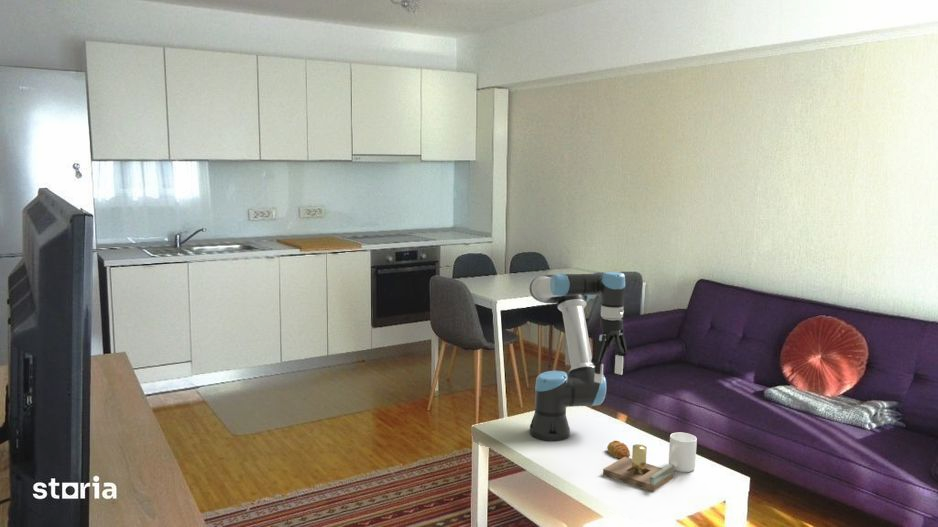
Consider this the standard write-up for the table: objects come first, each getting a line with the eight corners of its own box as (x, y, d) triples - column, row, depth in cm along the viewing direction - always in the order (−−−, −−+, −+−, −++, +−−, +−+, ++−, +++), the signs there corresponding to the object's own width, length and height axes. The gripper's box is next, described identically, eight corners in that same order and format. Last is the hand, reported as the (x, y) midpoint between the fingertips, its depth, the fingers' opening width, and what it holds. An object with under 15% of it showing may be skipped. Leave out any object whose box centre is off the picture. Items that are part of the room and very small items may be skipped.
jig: (602, 474, 233) (603, 461, 233) (624, 462, 244) (625, 449, 243) (653, 491, 222) (654, 478, 221) (673, 477, 232) (674, 464, 231)
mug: (657, 469, 239) (659, 438, 237) (677, 460, 246) (679, 430, 245) (679, 477, 232) (681, 446, 231) (700, 468, 240) (701, 437, 239)
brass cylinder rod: (628, 476, 233) (630, 447, 231) (635, 472, 236) (636, 443, 234) (641, 480, 230) (642, 450, 228) (647, 476, 233) (649, 446, 232)
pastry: (634, 459, 247) (635, 448, 247) (617, 461, 245) (617, 450, 245) (621, 449, 256) (622, 438, 256) (604, 450, 254) (605, 440, 254)
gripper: (602, 325, 230) (599, 388, 233) (639, 313, 249) (635, 372, 252) (582, 321, 235) (579, 383, 238) (620, 310, 254) (617, 368, 257)
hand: (608, 378), depth 245 cm, fingers open, 13 cm apart
